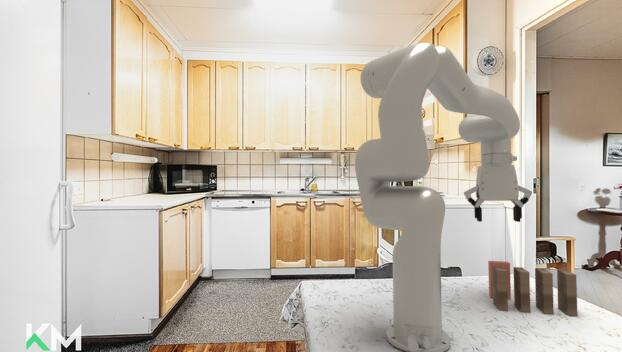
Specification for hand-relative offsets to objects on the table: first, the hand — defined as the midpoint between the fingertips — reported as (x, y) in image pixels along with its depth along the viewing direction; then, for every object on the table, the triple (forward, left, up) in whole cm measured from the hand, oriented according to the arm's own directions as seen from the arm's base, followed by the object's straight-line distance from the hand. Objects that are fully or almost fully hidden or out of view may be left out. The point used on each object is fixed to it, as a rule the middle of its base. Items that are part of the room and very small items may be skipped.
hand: (497, 221), depth 94 cm
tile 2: (-8, -8, -22) cm, 24 cm away
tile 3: (-8, -3, -22) cm, 23 cm away
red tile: (0, 0, -22) cm, 22 cm away
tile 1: (-8, -13, -22) cm, 26 cm away
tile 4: (-8, +2, -22) cm, 23 cm away
